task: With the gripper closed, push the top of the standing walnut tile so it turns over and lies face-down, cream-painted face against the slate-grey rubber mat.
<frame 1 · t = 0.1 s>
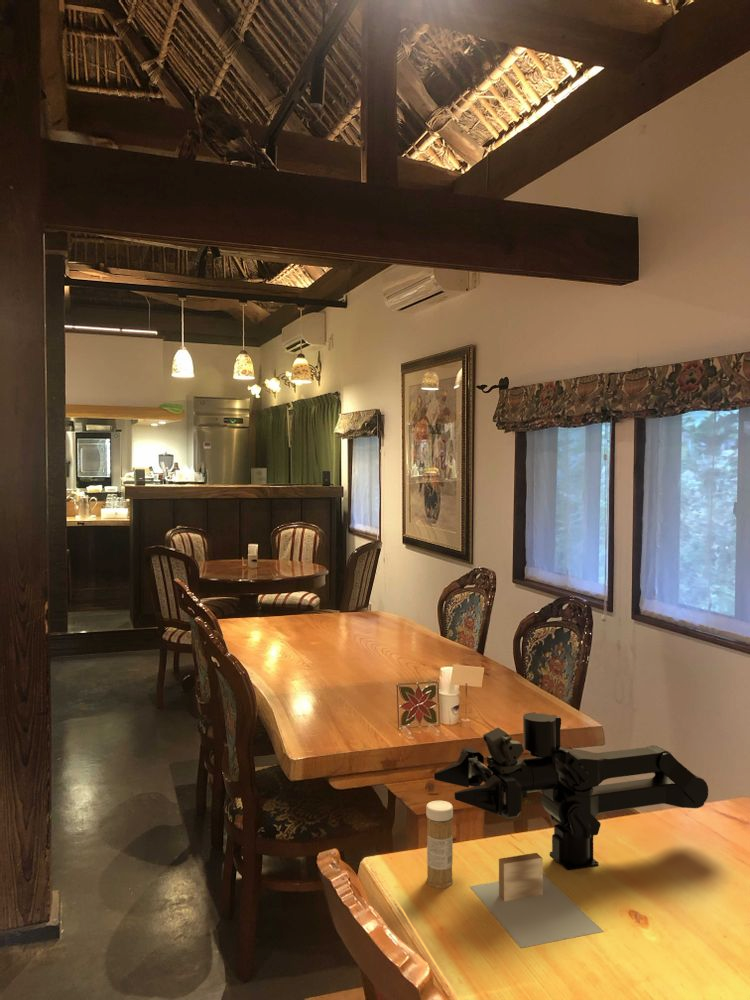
hand: (444, 785, 126), 17 cm above the table, tool horizontal, fingers open, 9 cm apart
sprinkles bottle: (439, 884, 125), on the table
walnut tile: (520, 894, 121), resting on slate mat
slate mat: (532, 909, 117), on the table
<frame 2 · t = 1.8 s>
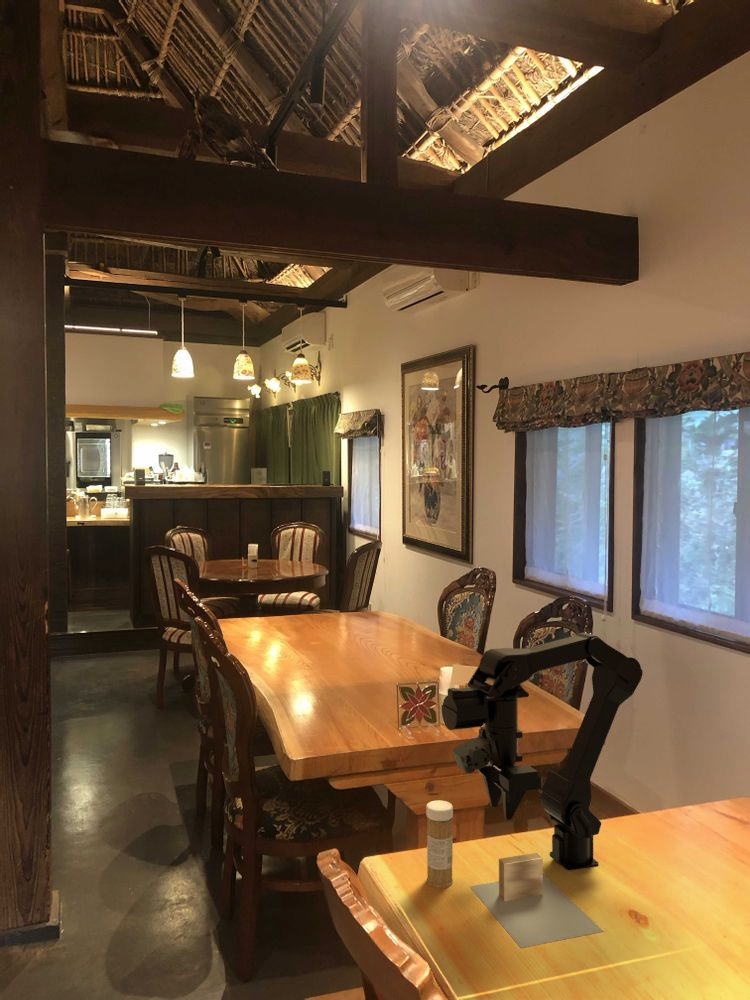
hand: (501, 812, 128), 11 cm above the table, tool pointing down, fingers open, 5 cm apart
nothing on the table moved.
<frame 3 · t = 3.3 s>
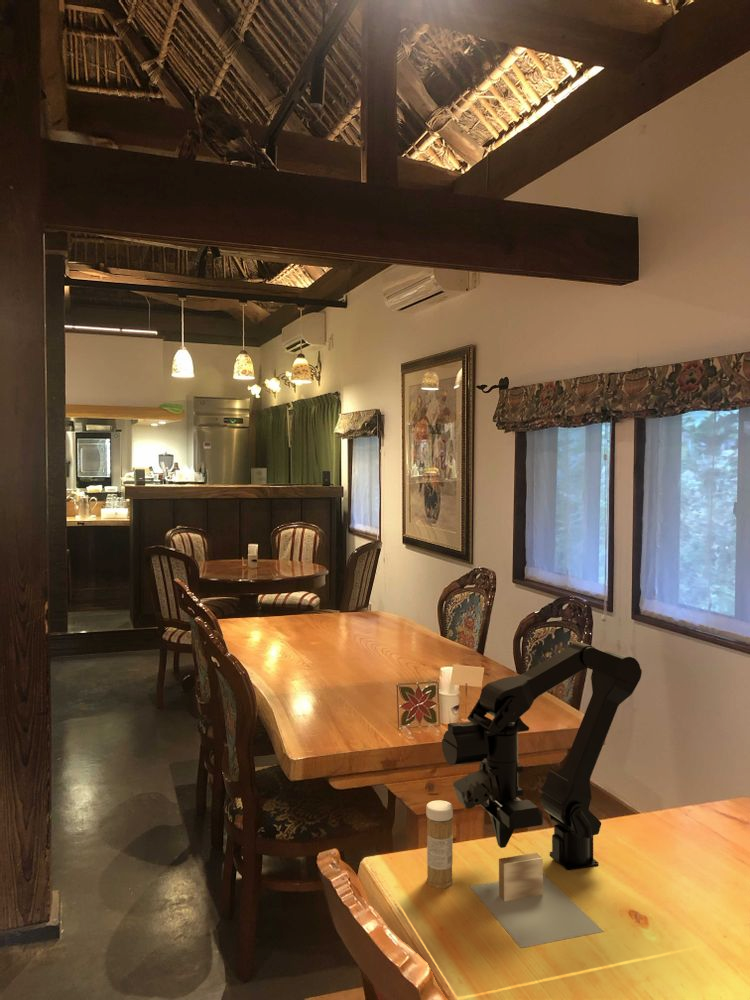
hand: (502, 846, 128), 5 cm above the table, tool pointing down, fingers closed
nothing on the table moved.
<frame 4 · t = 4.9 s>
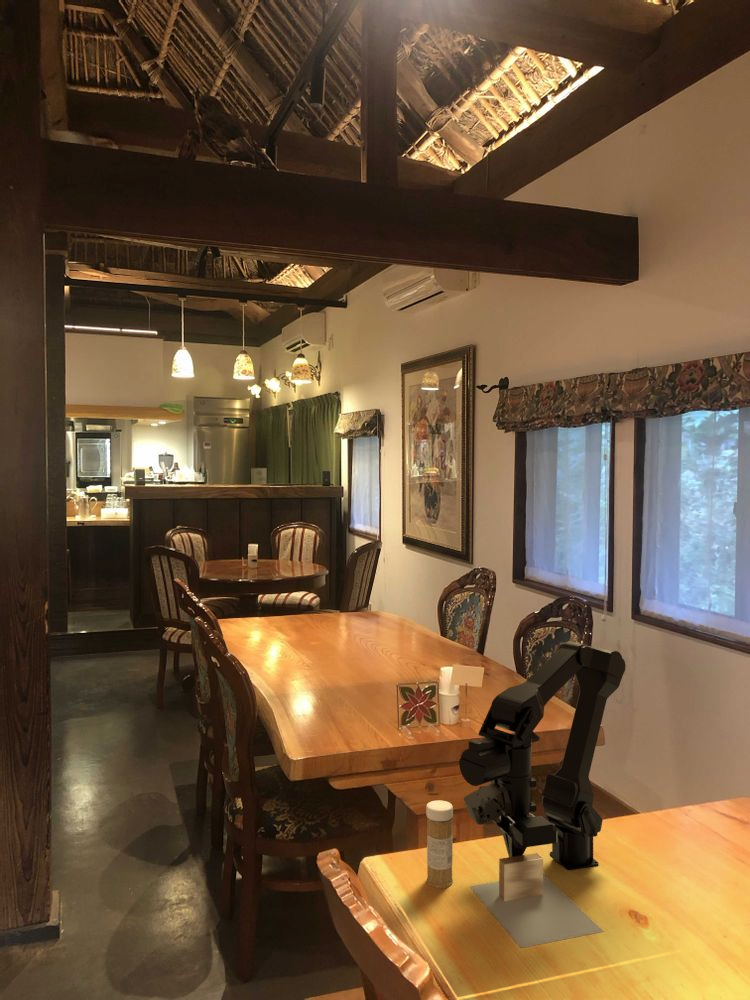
hand: (514, 864, 123), 4 cm above the table, tool pointing down, fingers closed
walnut tile: (520, 894, 121), resting on slate mat, touching gripper
everything else where it was.
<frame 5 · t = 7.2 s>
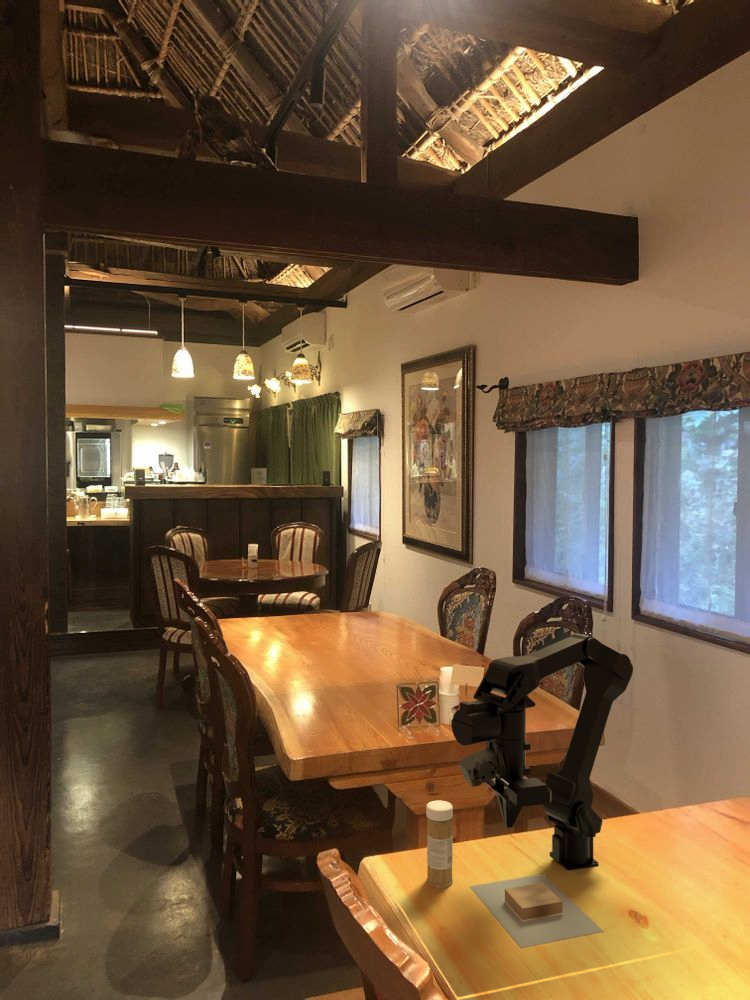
hand: (508, 826, 125), 10 cm above the table, tool pointing down, fingers closed
walnut tile: (523, 891, 120), point 1 cm above the table, tilted 90°, touching slate mat
everything else where it was.
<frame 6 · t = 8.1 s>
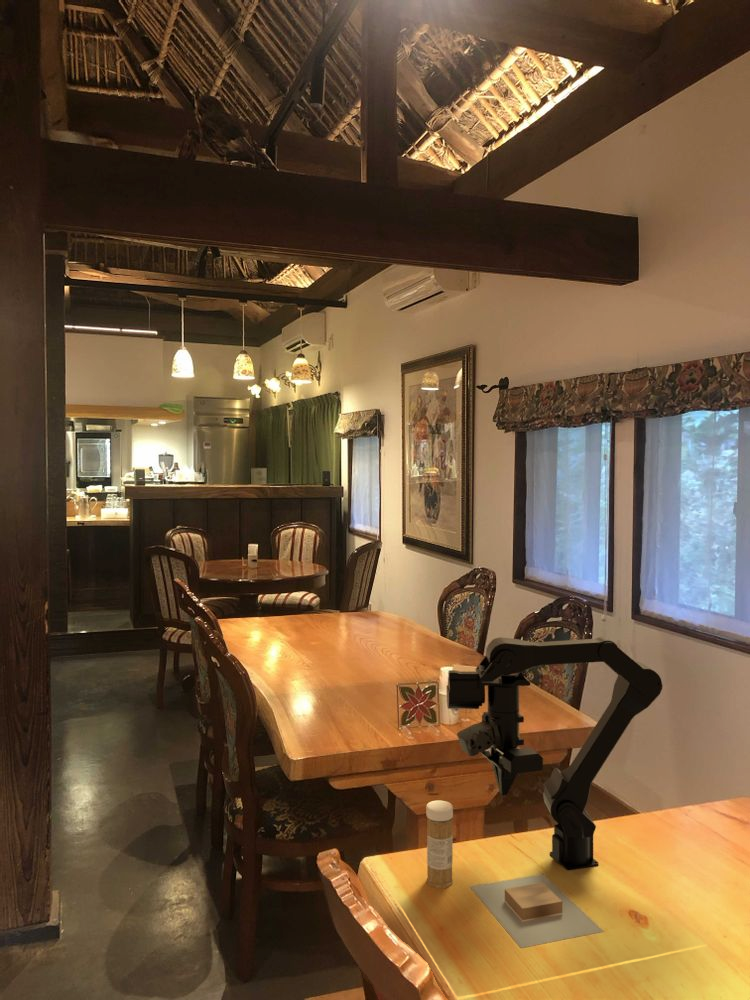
hand: (503, 794, 133), 12 cm above the table, tool pointing down, fingers closed
nothing on the table moved.
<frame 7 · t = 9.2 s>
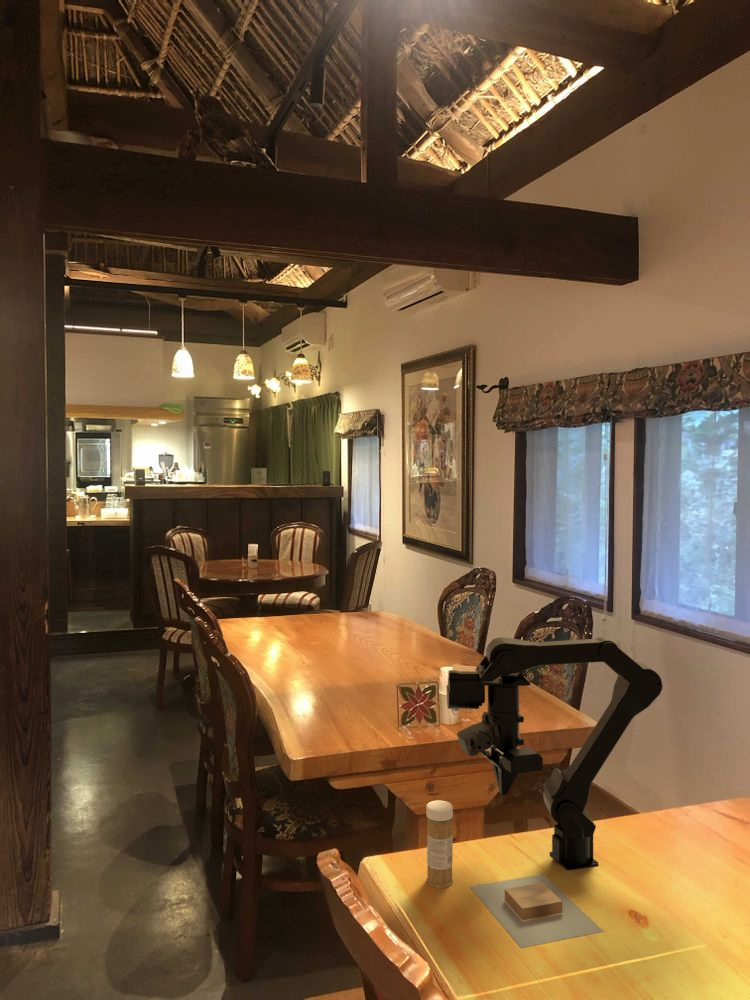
hand: (503, 794, 133), 12 cm above the table, tool pointing down, fingers closed
nothing on the table moved.
at the end: walnut tile tilted 90°; walnut tile inside the target area (1.5 cm from its centre), point 1.3 cm above the table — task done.
